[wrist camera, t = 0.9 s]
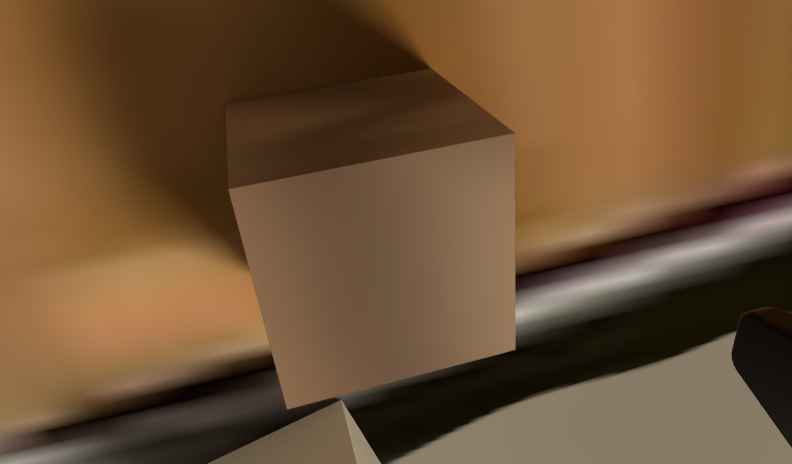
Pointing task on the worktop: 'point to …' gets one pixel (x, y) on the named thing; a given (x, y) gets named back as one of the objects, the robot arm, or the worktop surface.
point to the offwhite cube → (309, 442)
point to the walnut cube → (375, 230)
